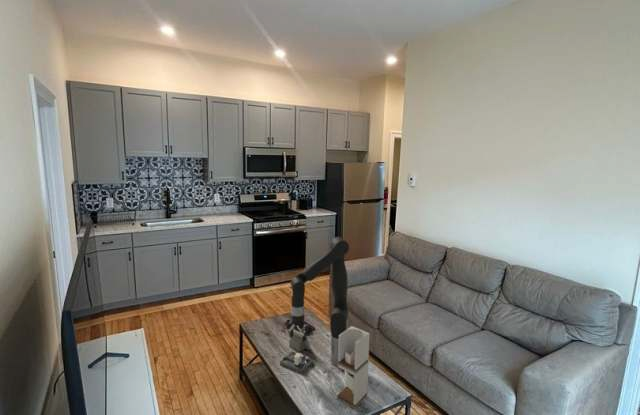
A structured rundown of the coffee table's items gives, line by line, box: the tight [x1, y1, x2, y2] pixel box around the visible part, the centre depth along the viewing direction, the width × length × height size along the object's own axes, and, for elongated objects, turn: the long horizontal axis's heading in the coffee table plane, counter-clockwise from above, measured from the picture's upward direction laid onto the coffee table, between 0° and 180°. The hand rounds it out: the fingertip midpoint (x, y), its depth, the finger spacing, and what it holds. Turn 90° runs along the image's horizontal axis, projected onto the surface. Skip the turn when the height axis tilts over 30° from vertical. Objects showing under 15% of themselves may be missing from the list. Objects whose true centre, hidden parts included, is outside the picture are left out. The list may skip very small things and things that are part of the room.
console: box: [279, 350, 315, 375], centre depth 198 cm, size 16×12×4 cm
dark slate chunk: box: [283, 320, 316, 334], centre depth 238 cm, size 15×22×5 cm
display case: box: [336, 325, 370, 409], centre depth 169 cm, size 11×11×35 cm
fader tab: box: [294, 352, 303, 365], centre depth 194 cm, size 2×4×5 cm, turn 148°
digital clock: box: [287, 329, 311, 353], centre depth 214 cm, size 16×9×11 cm, turn 39°
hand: (297, 338), depth 192 cm, fingers open, 8 cm apart
